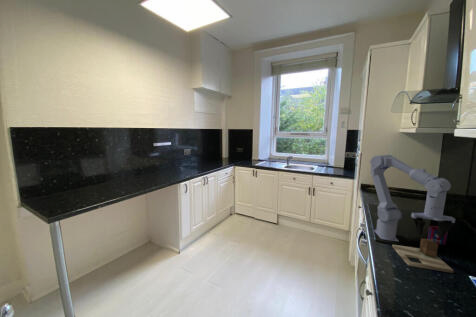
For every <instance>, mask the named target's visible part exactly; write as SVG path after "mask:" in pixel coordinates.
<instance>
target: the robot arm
mask: <svg viewBox="0 0 476 317" xmlns="http://www.w3.org/2000/svg"><path fill="white" fill-rule="evenodd" d="M369 164H370V175H371V178H372V181H373V182H372V183H373V186H374V187H375V190H376V194H377V198H378V202H379V204H378V206H377V208H376V209H377V218H378V219H377V221H376V228H375V229H374V230H373V231H374V232H375V234H376V235H377V236H378V237H379V238H380V239H381V240H383V241H384V240H385V241H392V242H400V241H399V239H398V238H397V237H396V236H397V229H398V228H397V227H398V223H399V220H401V219H402V216H403V215H402V212H401V210H400V209H399V208H398V205H397V204H396V203H394V202H393V200H392V196H391V193H390V189H389V187H388V184H387V181H386V177H385V172H386V171H387V170H388V169H389V168H391V167H393V168H395V169H397V170H399V171H400V172H404V173H405V174H408V176H409V178H410V179H411V180H413V181H415V182H416V183H417V184H418V183H419V184H420V185H421V186H424V188H425V190H426V191H427V192H426V199H425V205H424V212H411V215H410V217H411V218H412V220H413V222H414V224H415V228H416V233H417V234H418V235H419V236H422V235H423V231H424V226H425V225H426V221H424V220H429V221H431V220H432V221H437V223H438V236H439V237H441V238H443V237H444V235H445V233H446V232H447V231H449V230H450V229H451V228H453V227H454V224H455V223H456V218H454V217H453V216H448V215H444V210H445V204H446V199H447V192H449V191H450V190H451V187H452V184H451V183H450V181H449V180H447V179H446V178H444V177H438V176H437V175H435V174H431V173H429V172H428V171H427V170H426V169H424V168H414V167H412V166H410V165H408V163H406V162H404V161H401V160H400V159H399V158H398V157H396V156H393V155H391V154H382V155H381V154H377V155H376V154H375V155H374V156H372V158H371V159H370V160H369Z"/></svg>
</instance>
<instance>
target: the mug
mask: <svg viewBox="0 0 476 317" xmlns="http://www.w3.org/2000/svg"><path fill="white" fill-rule="evenodd" d="M438 226H439V225H438ZM438 226H437V225H434V226H433V225H429V226H428V233H427V238H426V239H430V240H433V241H434V242H435V243H437V244H438V246H439V245H440V246H444V245H446V244H447V240H448V233H449V232H448V231H449V230H448V231H447V232H446V233H445V235H444V237H443V238H441V237H439V236H438Z"/></svg>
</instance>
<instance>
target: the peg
mask: <svg viewBox="0 0 476 317" xmlns="http://www.w3.org/2000/svg"><path fill="white" fill-rule="evenodd" d="M419 248H420V249H419V251H420V252H421V253H423V254H424V255H425V256H430V257H436V255H437V253H438V248H439V244H437V243H435V242H434V241H433V240H430V239H427V238H421V239H420V245H419ZM437 256H438V255H437Z"/></svg>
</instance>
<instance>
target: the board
mask: <svg viewBox="0 0 476 317" xmlns="http://www.w3.org/2000/svg"><path fill="white" fill-rule="evenodd" d="M391 248H393V250H394V251H395V252H396V253H397V254H398V255H399V257H400V258H401V259H402V260H403V262H405V263H406V265H408V266H410V267H415V268H421V269H427V270H431V271H432V270H433V271H439V272H444V273H449V274H450V273H451V274H453V273H454V269H453V268H452V267H451V266H449V265H448V264H447V263H446V262H445V261H443V260H442V259H441V257H438V255H436V257H430V256H425V255H424V254H423V253H421V252H420V251H419V249H420V247H413V246H406V245H405V246H404V245H397V244H392V246H391ZM410 259H417V260H418V261H419V262H418V261H411V260H410Z"/></svg>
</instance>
